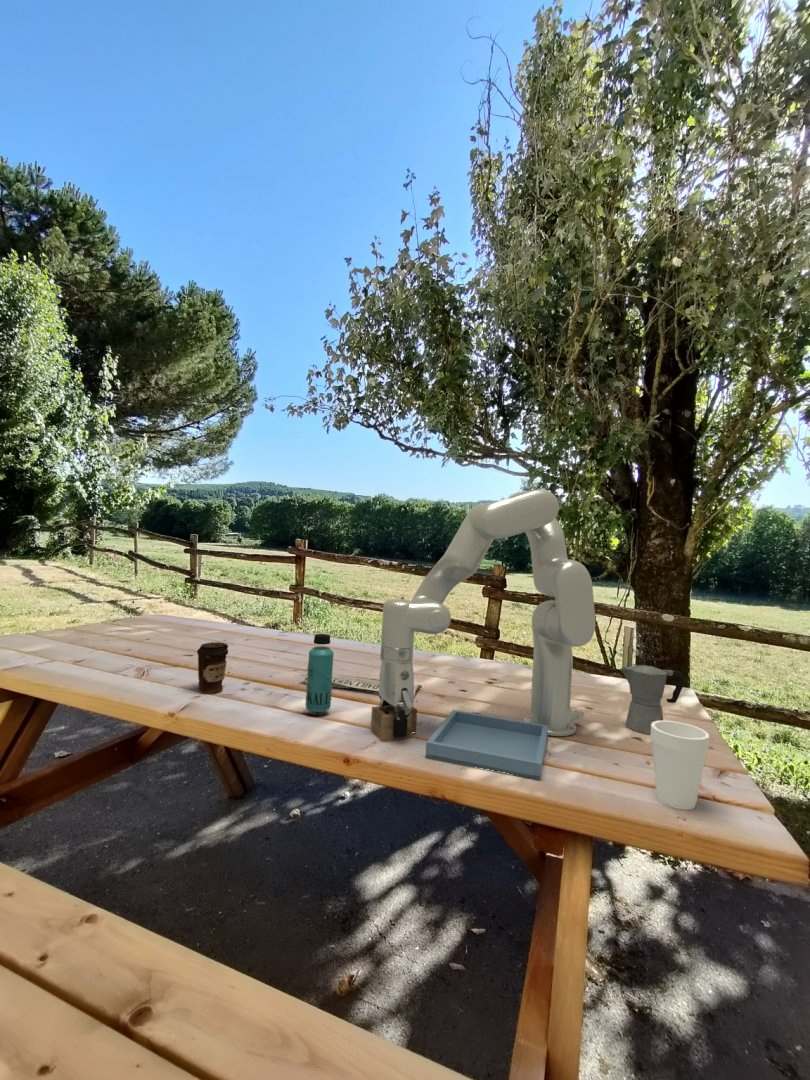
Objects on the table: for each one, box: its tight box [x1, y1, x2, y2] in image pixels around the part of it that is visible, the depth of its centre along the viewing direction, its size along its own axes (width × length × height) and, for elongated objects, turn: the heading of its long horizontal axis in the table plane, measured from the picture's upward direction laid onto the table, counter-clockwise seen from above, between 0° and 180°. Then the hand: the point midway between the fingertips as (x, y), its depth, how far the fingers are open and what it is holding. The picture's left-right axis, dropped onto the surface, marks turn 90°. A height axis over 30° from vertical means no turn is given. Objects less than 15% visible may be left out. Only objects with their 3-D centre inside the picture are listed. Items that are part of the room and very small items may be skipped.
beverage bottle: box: [304, 633, 335, 713], centre depth 129 cm, size 6×7×20 cm
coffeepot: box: [619, 658, 686, 736], centre depth 131 cm, size 15×9×18 cm, turn 76°
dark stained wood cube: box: [370, 703, 418, 743], centre depth 118 cm, size 10×7×6 cm
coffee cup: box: [196, 641, 229, 694], centre depth 142 cm, size 9×8×13 cm
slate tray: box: [425, 709, 549, 781], centre depth 113 cm, size 23×23×3 cm
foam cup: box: [649, 720, 710, 811], centre depth 93 cm, size 10×9×13 cm
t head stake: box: [383, 705, 394, 714], centre depth 117 cm, size 3×1×6 cm, turn 116°
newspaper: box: [299, 673, 423, 698], centre depth 153 cm, size 35×12×4 cm, turn 76°
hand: (392, 729), depth 118 cm, fingers closed on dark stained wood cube, 7 cm apart
